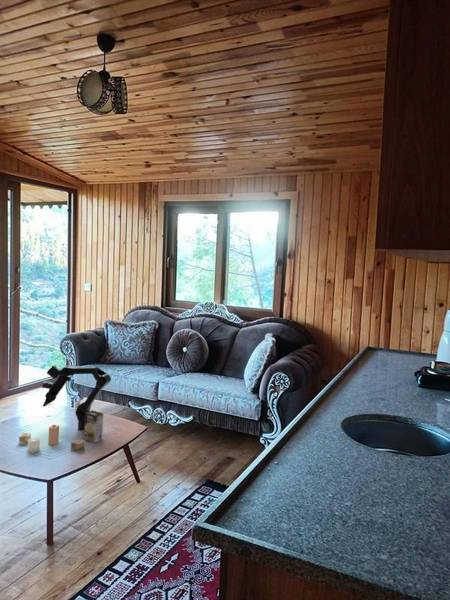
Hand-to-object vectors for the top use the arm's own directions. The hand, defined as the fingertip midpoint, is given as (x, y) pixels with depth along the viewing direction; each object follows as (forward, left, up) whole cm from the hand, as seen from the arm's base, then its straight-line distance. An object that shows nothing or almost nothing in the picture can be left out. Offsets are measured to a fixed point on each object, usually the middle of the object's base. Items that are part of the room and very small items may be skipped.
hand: (44, 404), depth 279 cm
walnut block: (-34, +28, -14) cm, 46 cm away
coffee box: (-37, +13, -14) cm, 41 cm away
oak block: (-2, +26, -14) cm, 29 cm away
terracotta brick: (-18, +24, -14) cm, 33 cm away
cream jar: (-12, +35, -14) cm, 39 cm away
